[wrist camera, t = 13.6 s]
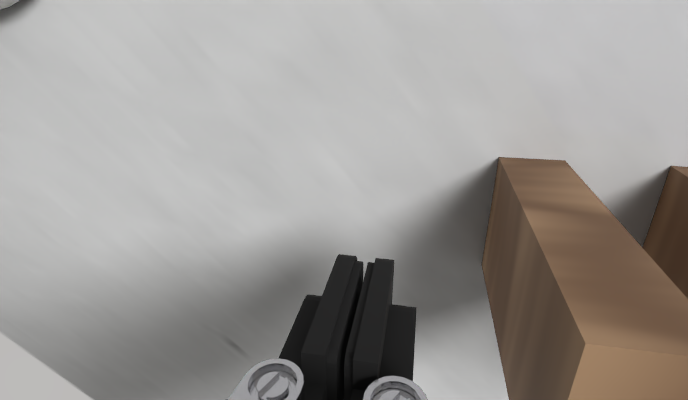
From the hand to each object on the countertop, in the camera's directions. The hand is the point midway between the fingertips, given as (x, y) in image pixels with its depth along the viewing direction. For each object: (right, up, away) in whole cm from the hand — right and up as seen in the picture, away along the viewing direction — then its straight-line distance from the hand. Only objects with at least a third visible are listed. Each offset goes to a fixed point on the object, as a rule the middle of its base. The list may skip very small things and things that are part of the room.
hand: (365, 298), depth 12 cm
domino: (+7, +2, +5) cm, 8 cm away
